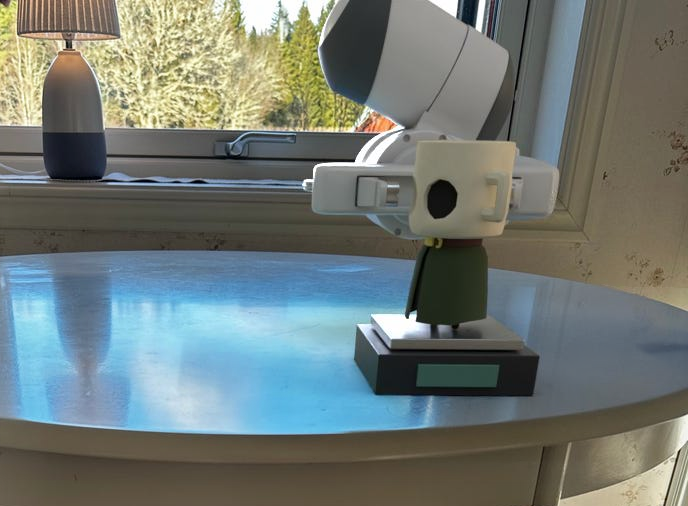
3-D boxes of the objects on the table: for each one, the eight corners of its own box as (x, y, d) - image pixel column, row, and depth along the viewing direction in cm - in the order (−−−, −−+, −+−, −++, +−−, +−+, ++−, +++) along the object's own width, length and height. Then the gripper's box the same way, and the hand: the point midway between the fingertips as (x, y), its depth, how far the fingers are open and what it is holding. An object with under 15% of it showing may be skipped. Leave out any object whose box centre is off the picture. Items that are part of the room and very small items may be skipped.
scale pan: (488, 325, 80) (490, 315, 80) (523, 350, 72) (525, 339, 71) (370, 324, 80) (371, 314, 80) (390, 349, 72) (391, 338, 71)
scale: (491, 360, 83) (497, 325, 81) (534, 396, 72) (541, 356, 71) (353, 359, 83) (356, 323, 81) (375, 395, 72) (379, 355, 70)
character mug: (368, 317, 79) (383, 139, 72) (440, 311, 81) (461, 139, 75) (447, 342, 70) (472, 143, 64) (525, 335, 72) (556, 142, 66)
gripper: (302, 144, 84) (318, 148, 72) (533, 146, 84) (588, 151, 72) (298, 222, 87) (313, 238, 75) (521, 224, 87) (572, 241, 75)
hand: (450, 196), depth 74 cm, fingers open, 8 cm apart
